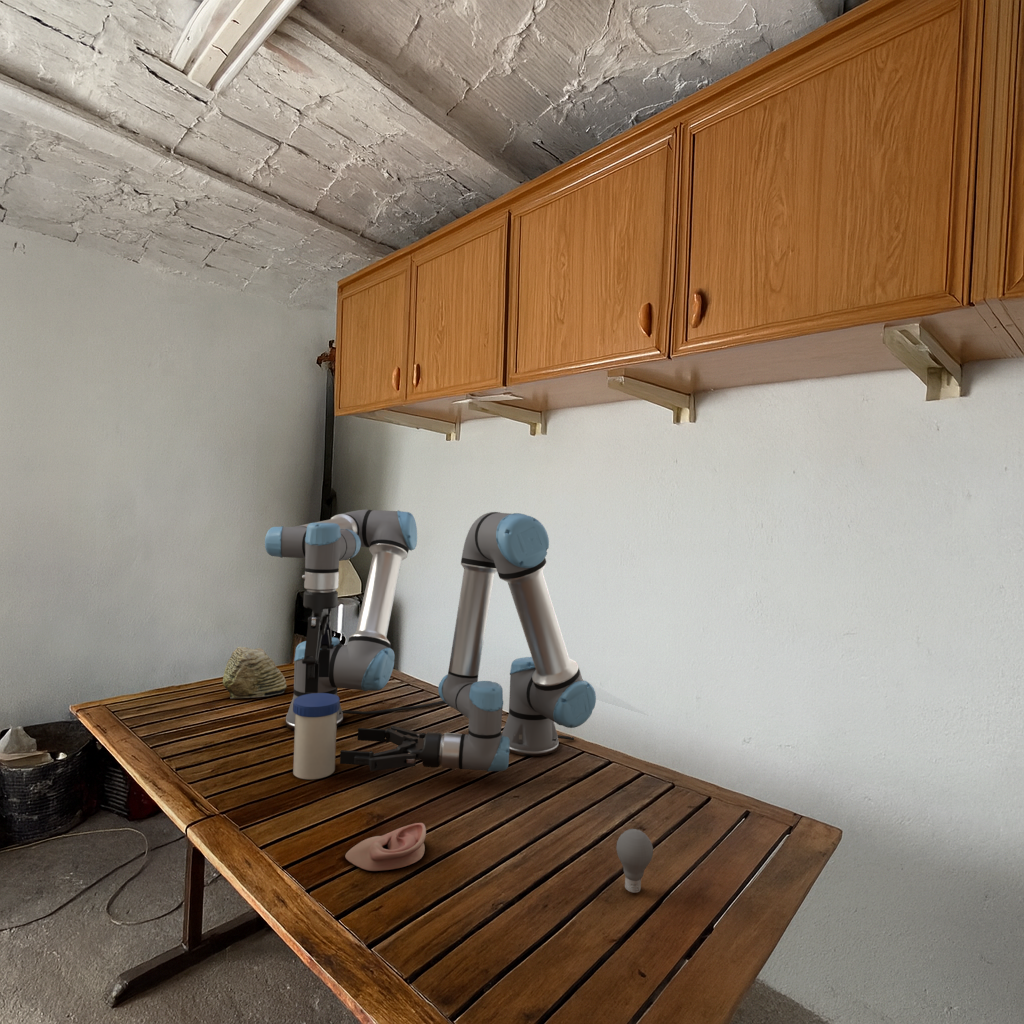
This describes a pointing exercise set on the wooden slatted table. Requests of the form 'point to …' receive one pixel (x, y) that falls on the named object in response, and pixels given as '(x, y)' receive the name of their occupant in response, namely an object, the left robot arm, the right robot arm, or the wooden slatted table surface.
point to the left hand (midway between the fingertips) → (317, 684)
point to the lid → (316, 704)
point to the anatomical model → (390, 849)
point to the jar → (314, 746)
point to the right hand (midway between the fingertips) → (349, 744)
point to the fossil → (252, 674)
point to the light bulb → (634, 857)
